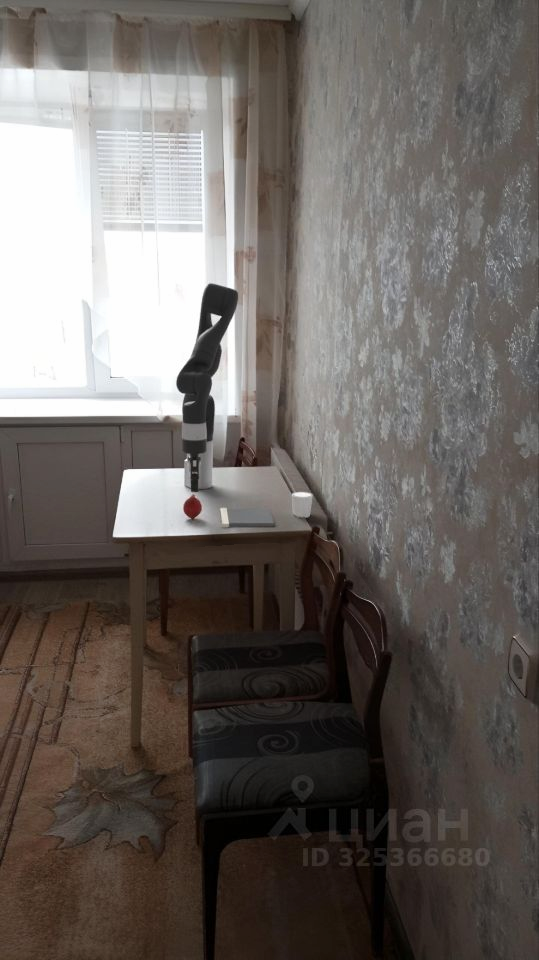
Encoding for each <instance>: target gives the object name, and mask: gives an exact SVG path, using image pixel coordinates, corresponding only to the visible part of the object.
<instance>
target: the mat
mask: <svg viewBox="0 0 539 960" xmlns="http://www.w3.org/2000/svg"><path fill="white" fill-rule="evenodd" d="M219 508H220V510H219V511H220V512H219V513H220V518H221V519H220V520H221V527H222V528H230V527H274V526H275V522H274V519H273V515H272V512H271V510H270V508H248V509H247V508H245V509H244V508H243V509H242V508H241V509H240V508H238V509H237V508H233V509H232V508H227V507H219Z"/></svg>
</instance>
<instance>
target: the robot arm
mask: <svg viewBox="0 0 539 960" xmlns="http://www.w3.org/2000/svg"><path fill="white" fill-rule="evenodd" d="M238 302H239V292H238V291H237V290H236V289H234V288H230V287H228V286H225V285H220V284H217V283H211V282H210V283H207V284H206V286H204V289H203V292H202V297H201V303H200V312H199V322H198V328H197V329H198V330H197V335H196V339H195V344H194V347H193V349H192V351H191V352H192V353H191V355H190V356H189V358H188V360H187V361H186V363H185V364H184V366H183V367H182V368H181V369H180V371H179V373H178V375H177V376H176V380H175V383H176V384H175V385H176V388H177V391H178V392H179V393H181V394H184V397H183V400H182V405H181V406H182V407H181V410H182V411H181V414H182V426H181V451H182V452H183V453H184V454H186V459H184V462H183V463H184V465H183V466H184V473H183V474H184V476H183V477H184V482H183V483H184V486H185V487H187V488H189V489H190V492H191V493H198V492H199V490H206V489H211V488H212V487H213V459H214V457H213V456H214V455H213V453H214V451H213V447H214V439H213V438H214V431H215V415H216V406H215V400H214V397H213V396H212V395H211V390H212V386H213V380H212V378H213V377H214V375H215V374H216V373H217V372H218V370H219V367H220V363H221V358H222V353H223V350H222V346H221V342H222V340H223V338H224V336H225V334H226V332H227V330H228V328H229V325H230V323H231V322H232V319H233V317H234V314H235V313H236V310H237V306H238ZM212 315H215V316H218V317H220V319H218V320H217V322H216V323H215V324H214V325H213V321H212V320H213V319H212Z"/></svg>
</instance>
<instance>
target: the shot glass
mask: <svg viewBox="0 0 539 960" xmlns="http://www.w3.org/2000/svg"><path fill="white" fill-rule="evenodd" d="M313 497H314V494H313V493H311V492H307V491H297V492H296V491H295V492H293V493H291V504H292V515H293V514H294V515H297V516H304V517H305V518H309V517H310V516H311V512H312V511H311V510H312V503H313ZM305 518H304V519H305Z"/></svg>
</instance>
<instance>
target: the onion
mask: <svg viewBox="0 0 539 960" xmlns="http://www.w3.org/2000/svg"><path fill="white" fill-rule="evenodd" d="M182 508H183V512H184V514H185V515H186V516H187V517H188V518H189V519H191V520H194V519H196V518H197V517H199V515H200V514H201V512H202V511H203V506H202V502H201V501H200V500H199V498H196V495H195V494H191V495H190V497H188V498H187V499H186V500H185V501H184V503H183V507H182Z"/></svg>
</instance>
